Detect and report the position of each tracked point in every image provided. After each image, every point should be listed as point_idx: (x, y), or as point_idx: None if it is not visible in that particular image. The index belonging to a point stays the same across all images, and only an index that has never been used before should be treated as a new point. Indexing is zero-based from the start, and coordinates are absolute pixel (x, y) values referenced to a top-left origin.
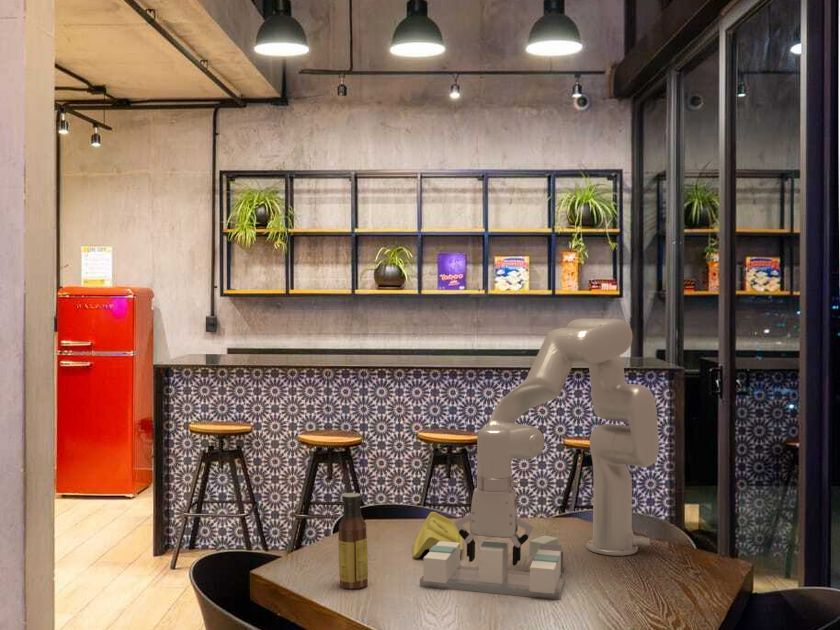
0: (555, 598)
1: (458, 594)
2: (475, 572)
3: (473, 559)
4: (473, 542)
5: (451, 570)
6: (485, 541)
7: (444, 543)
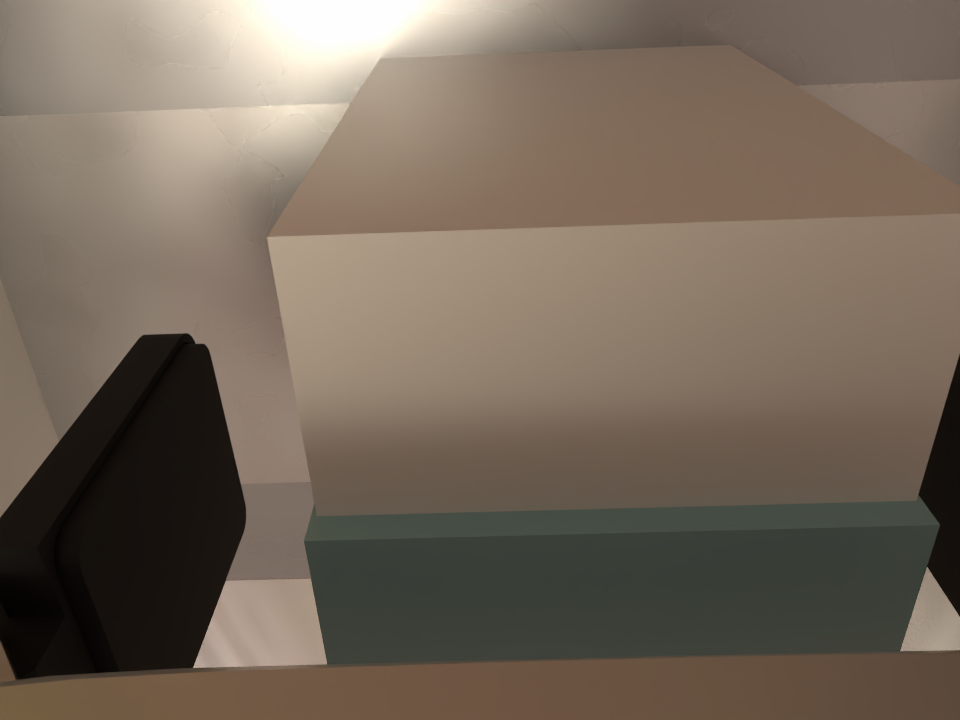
0: None
1: (298, 616)
2: (264, 194)
3: (227, 441)
4: (101, 652)
5: (15, 448)
6: (351, 545)
7: None
